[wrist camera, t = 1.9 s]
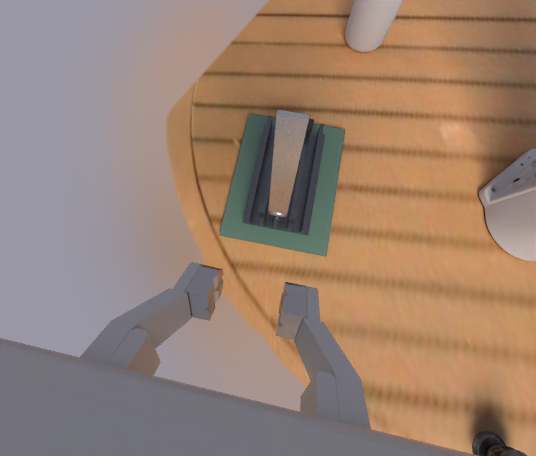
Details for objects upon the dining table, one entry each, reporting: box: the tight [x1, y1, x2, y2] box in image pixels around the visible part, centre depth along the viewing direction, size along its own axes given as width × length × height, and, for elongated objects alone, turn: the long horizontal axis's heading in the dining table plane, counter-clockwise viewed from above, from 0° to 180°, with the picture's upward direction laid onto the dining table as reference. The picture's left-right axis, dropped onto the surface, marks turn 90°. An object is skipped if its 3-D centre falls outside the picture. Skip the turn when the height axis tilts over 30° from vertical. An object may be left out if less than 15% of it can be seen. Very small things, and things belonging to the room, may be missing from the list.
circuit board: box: [219, 114, 345, 256], centre depth 39 cm, size 26×20×1 cm
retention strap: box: [268, 110, 309, 218], centre depth 26 cm, size 17×3×1 cm
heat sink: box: [243, 116, 325, 236], centre depth 35 cm, size 20×12×6 cm, turn 168°
